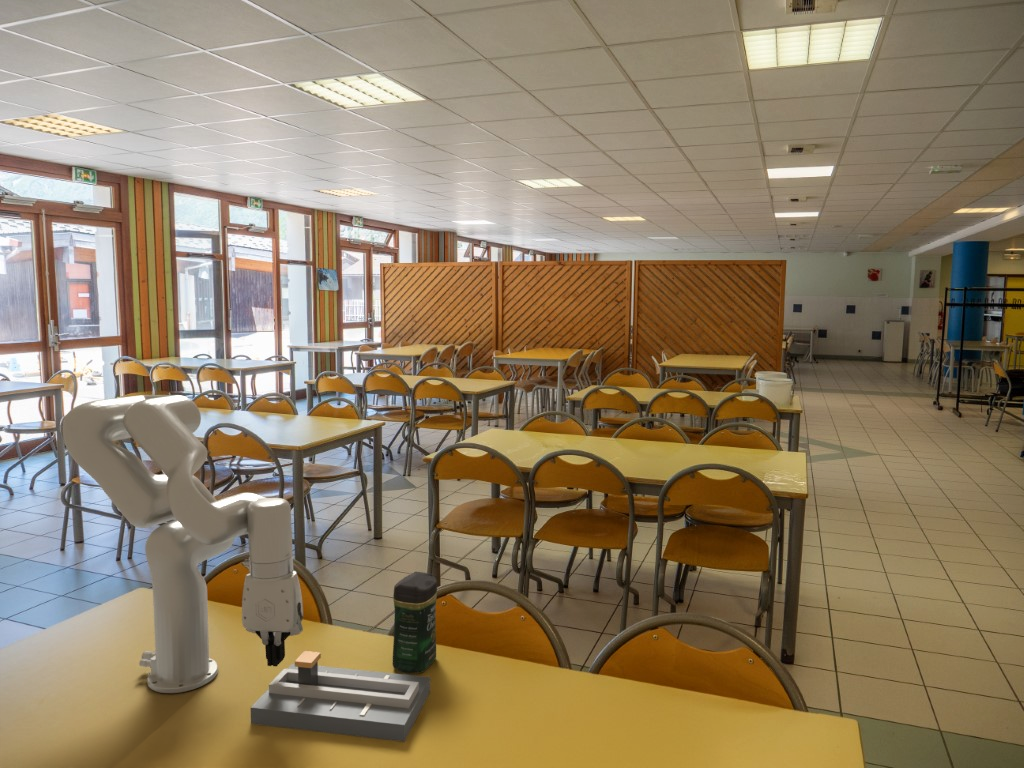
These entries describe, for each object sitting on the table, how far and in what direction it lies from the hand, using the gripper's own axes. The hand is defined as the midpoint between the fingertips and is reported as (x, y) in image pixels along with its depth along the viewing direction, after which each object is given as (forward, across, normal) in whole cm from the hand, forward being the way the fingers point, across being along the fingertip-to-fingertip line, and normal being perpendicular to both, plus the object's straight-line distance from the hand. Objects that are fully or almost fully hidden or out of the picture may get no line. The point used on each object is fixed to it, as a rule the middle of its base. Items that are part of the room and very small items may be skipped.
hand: (275, 662), depth 132 cm
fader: (+4, +6, 0) cm, 8 cm away
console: (+8, +13, 0) cm, 15 cm away
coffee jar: (+8, +21, +18) cm, 29 cm away
